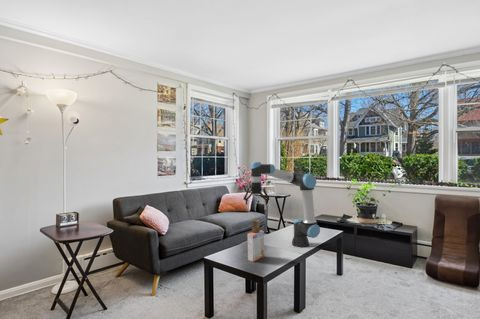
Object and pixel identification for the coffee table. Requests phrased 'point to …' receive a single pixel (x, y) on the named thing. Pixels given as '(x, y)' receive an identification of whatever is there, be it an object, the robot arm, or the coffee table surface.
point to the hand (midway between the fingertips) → (256, 209)
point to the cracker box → (255, 246)
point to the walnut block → (255, 226)
